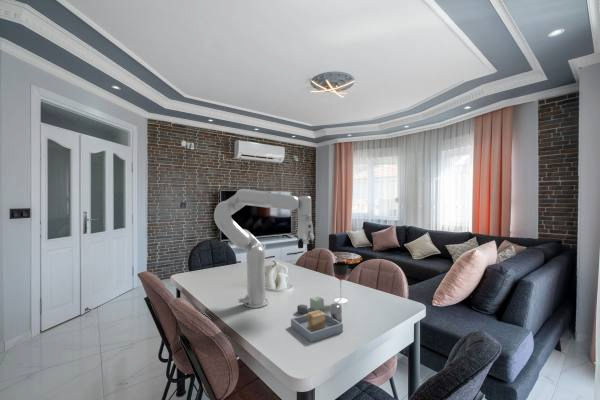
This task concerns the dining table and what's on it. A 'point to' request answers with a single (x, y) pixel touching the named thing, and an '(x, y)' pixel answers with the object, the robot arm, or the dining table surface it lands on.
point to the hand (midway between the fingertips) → (305, 249)
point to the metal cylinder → (336, 312)
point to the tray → (330, 329)
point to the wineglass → (340, 277)
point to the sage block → (316, 303)
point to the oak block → (316, 320)
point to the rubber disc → (302, 309)
